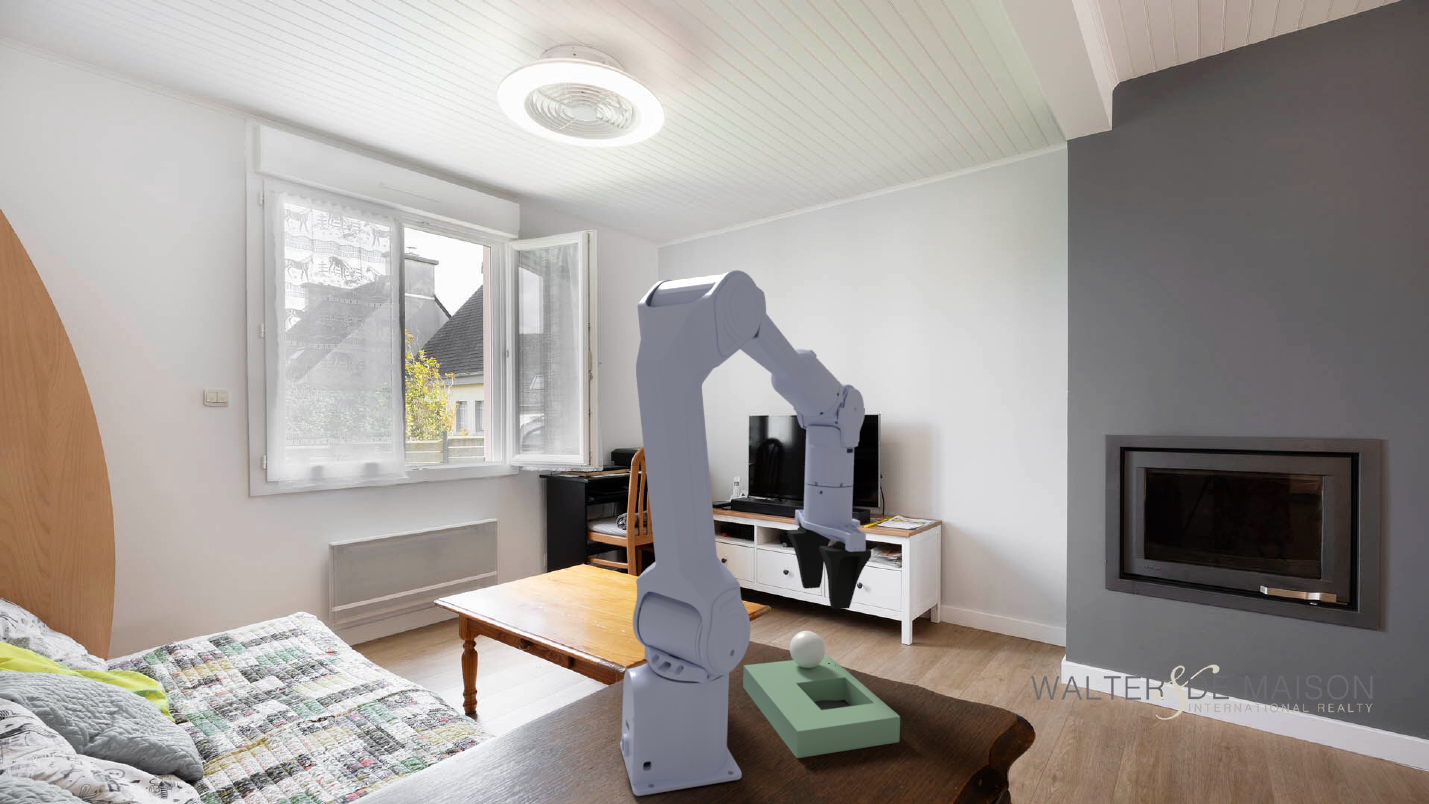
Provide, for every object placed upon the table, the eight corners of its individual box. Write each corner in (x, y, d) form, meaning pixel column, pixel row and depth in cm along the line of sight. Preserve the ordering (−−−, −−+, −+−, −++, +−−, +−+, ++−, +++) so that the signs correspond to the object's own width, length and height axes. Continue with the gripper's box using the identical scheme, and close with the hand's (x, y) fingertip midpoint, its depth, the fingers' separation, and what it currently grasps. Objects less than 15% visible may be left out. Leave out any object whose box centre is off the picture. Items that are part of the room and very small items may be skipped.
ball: (798, 676, 69) (799, 640, 69) (783, 661, 73) (784, 627, 73) (830, 672, 70) (831, 637, 70) (814, 657, 74) (815, 624, 74)
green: (796, 758, 57) (797, 731, 57) (742, 687, 71) (743, 665, 71) (899, 742, 61) (900, 716, 61) (828, 676, 75) (829, 656, 75)
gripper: (891, 493, 69) (887, 615, 69) (830, 476, 82) (827, 577, 83) (834, 494, 67) (830, 620, 67) (781, 476, 80) (778, 580, 81)
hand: (825, 597), depth 74 cm, fingers open, 7 cm apart
